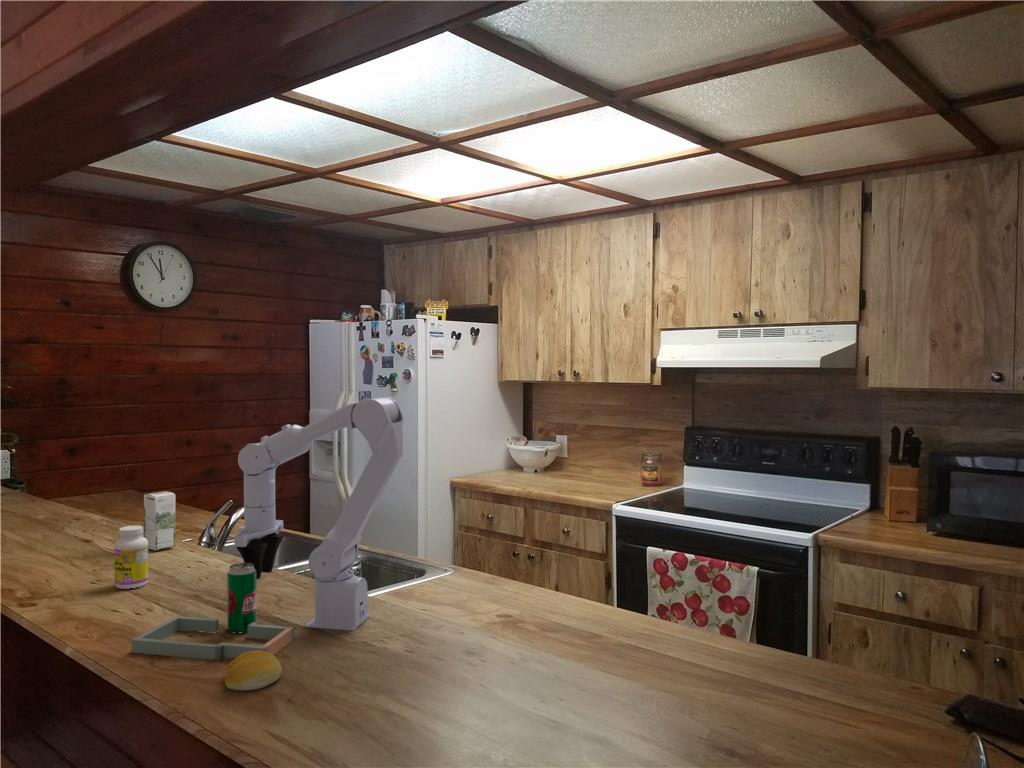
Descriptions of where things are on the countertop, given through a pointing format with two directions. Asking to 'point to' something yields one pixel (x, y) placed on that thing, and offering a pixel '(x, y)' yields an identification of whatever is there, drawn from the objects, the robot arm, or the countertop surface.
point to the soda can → (241, 597)
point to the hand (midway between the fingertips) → (260, 575)
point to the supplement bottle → (131, 558)
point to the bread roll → (252, 671)
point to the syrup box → (159, 520)
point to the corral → (157, 646)
